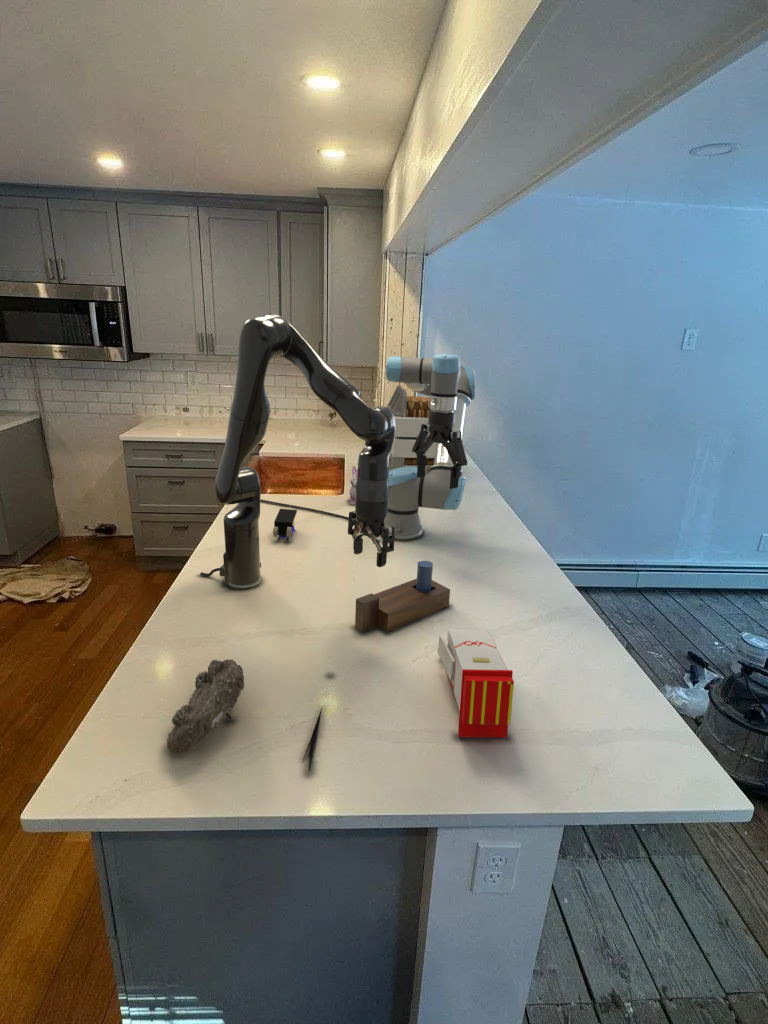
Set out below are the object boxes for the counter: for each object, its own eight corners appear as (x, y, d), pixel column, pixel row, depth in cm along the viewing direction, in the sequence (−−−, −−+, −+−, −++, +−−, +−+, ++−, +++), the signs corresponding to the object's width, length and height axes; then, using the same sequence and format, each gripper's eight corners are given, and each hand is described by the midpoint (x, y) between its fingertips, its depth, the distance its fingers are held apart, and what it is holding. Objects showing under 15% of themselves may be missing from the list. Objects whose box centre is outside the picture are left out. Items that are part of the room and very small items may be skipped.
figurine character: (292, 547, 188) (298, 526, 201) (292, 527, 184) (297, 507, 198) (272, 547, 187) (279, 526, 201) (271, 526, 184) (278, 506, 197)
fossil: (192, 660, 117) (244, 628, 112) (224, 691, 120) (276, 661, 115) (142, 746, 98) (202, 712, 93) (182, 779, 101) (242, 748, 96)
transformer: (382, 463, 289) (386, 382, 275) (445, 464, 293) (451, 384, 279) (390, 482, 257) (394, 392, 243) (460, 483, 261) (468, 394, 247)
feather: (331, 679, 122) (336, 673, 122) (307, 777, 96) (313, 769, 95) (324, 675, 122) (329, 669, 121) (298, 772, 95) (304, 764, 95)
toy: (488, 613, 130) (523, 677, 101) (484, 667, 133) (517, 744, 104) (435, 612, 130) (455, 676, 101) (432, 666, 133) (451, 743, 103)
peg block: (346, 621, 143) (347, 593, 140) (422, 591, 160) (424, 566, 157) (371, 639, 136) (372, 609, 133) (448, 605, 153) (451, 579, 150)
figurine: (353, 507, 224) (354, 470, 219) (343, 499, 232) (343, 463, 227) (374, 504, 228) (376, 468, 223) (364, 496, 237) (365, 462, 231)
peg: (411, 603, 153) (414, 562, 149) (422, 599, 156) (425, 559, 152) (422, 609, 150) (425, 568, 146) (432, 604, 153) (436, 564, 149)
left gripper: (340, 489, 132) (338, 553, 138) (379, 507, 122) (376, 574, 128) (365, 484, 137) (362, 546, 142) (405, 501, 127) (401, 566, 132)
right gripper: (403, 405, 168) (399, 474, 175) (466, 419, 150) (459, 495, 157) (421, 403, 172) (416, 470, 180) (484, 416, 155) (477, 490, 162)
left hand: (369, 559), depth 135 cm, fingers open, 8 cm apart
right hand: (436, 482), depth 168 cm, fingers open, 13 cm apart
